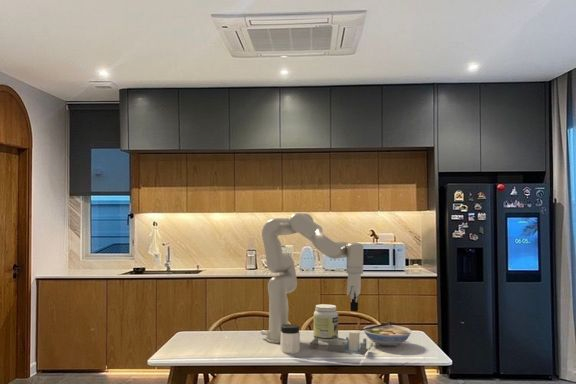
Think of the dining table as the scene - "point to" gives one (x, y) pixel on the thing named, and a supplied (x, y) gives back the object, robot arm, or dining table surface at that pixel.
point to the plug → (353, 340)
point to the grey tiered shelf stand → (337, 346)
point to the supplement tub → (325, 322)
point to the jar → (290, 338)
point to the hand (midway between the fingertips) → (354, 310)
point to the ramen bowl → (387, 334)
